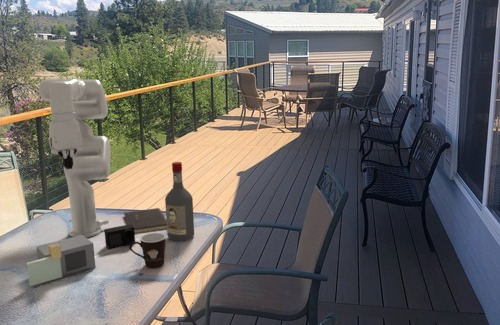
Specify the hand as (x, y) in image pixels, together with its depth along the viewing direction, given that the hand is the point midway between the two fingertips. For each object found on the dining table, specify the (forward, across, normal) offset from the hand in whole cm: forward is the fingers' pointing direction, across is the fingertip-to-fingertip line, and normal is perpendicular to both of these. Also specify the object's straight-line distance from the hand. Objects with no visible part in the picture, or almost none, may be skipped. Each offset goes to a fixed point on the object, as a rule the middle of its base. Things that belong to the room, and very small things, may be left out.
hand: (68, 168), depth 188 cm
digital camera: (+32, -15, +4) cm, 36 cm away
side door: (+31, +17, +19) cm, 40 cm away
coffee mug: (+32, -16, +27) cm, 45 cm away
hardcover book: (+33, -35, -13) cm, 50 cm away
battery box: (+32, +10, +13) cm, 36 cm away
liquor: (+32, -37, +12) cm, 51 cm away
